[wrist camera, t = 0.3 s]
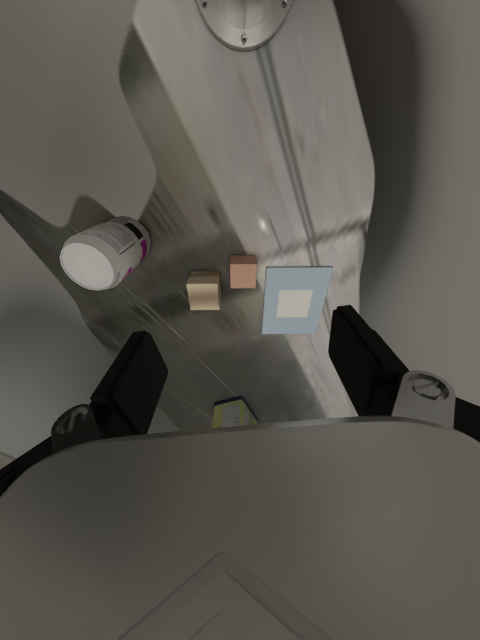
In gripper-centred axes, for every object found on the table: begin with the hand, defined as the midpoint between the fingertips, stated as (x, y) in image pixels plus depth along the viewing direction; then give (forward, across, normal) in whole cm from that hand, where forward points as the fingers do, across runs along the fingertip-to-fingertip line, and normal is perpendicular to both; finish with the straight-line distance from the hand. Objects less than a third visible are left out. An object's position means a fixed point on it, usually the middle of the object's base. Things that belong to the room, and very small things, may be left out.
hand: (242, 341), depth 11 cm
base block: (+36, +9, +12) cm, 39 cm away
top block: (+36, +1, +9) cm, 37 cm away
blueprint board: (+36, -10, +20) cm, 42 cm away
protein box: (+37, +10, +63) cm, 73 cm away
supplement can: (+36, +22, 0) cm, 42 cm away
